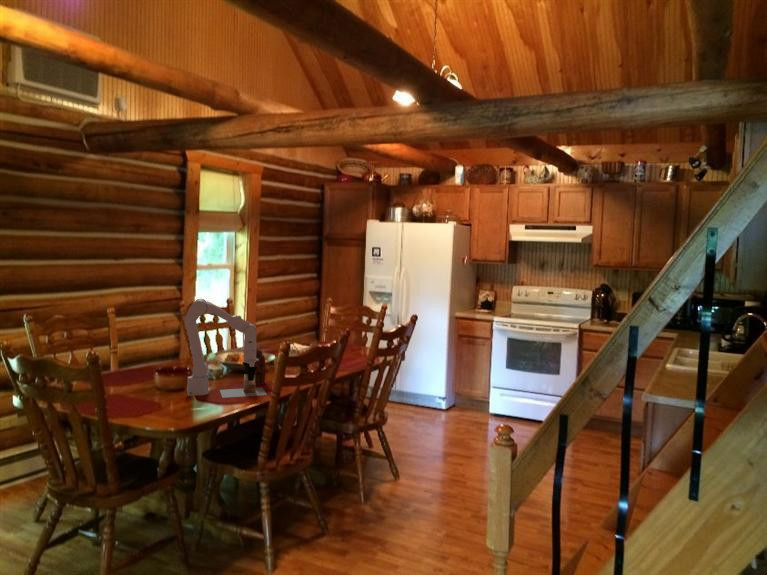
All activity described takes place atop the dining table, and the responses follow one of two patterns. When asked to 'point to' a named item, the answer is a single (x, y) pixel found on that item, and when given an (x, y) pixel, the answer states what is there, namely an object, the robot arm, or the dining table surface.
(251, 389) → the walnut base block
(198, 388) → the robot arm
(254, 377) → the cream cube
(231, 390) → the mat
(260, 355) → the wooden figurine
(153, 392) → the dining table surface
